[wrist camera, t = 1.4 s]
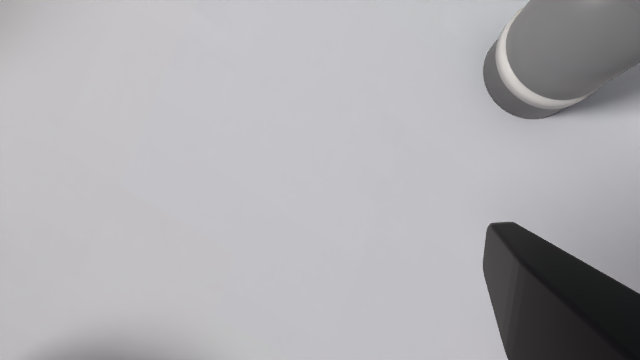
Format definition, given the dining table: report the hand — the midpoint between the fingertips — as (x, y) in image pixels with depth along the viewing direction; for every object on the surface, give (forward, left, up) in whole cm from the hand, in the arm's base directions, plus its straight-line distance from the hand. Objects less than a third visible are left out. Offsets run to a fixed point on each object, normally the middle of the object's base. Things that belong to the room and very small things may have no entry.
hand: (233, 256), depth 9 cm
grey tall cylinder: (+6, -14, -15) cm, 21 cm away
